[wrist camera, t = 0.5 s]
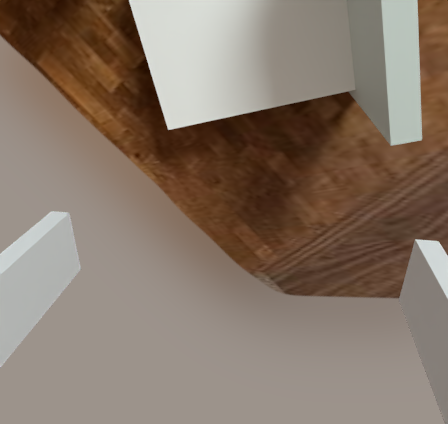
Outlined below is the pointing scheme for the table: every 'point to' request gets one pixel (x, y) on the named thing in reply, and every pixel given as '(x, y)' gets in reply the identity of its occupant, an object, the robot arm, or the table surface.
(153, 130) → the table surface
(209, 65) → the white toy chair
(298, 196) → the table surface
